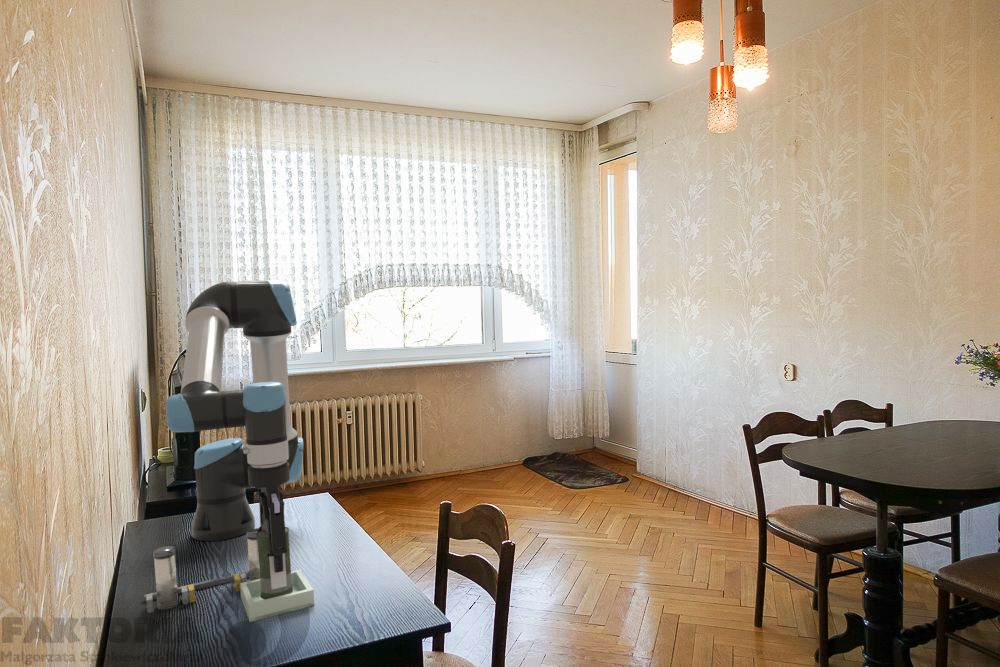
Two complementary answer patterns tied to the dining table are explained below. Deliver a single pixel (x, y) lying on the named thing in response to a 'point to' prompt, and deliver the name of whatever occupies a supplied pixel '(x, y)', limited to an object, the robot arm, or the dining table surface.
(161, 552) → the fuse rail
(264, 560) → the grenade
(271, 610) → the tray
